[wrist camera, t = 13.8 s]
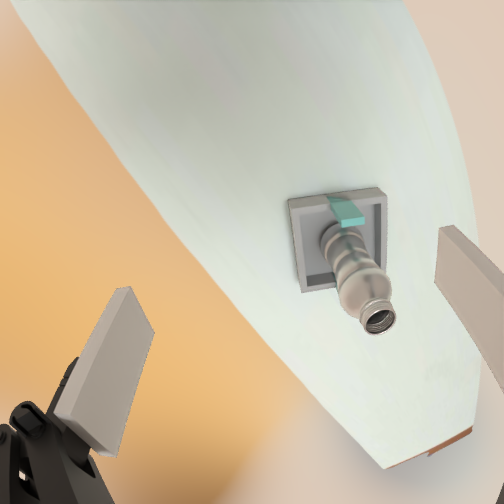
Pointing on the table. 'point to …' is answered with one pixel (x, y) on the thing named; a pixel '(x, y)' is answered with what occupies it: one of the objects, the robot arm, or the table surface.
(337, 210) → the tray
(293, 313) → the table surface
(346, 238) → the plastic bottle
